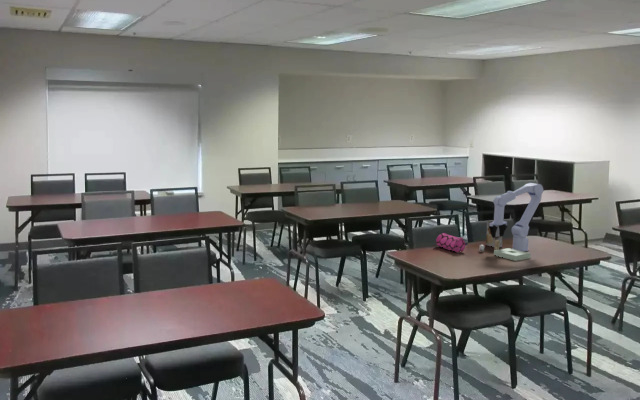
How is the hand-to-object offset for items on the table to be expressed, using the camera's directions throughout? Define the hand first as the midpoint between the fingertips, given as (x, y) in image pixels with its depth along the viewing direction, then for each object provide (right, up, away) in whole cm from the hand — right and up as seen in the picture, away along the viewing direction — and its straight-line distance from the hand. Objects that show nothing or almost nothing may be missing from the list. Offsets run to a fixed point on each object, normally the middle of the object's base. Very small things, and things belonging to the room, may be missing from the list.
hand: (497, 236), depth 355 cm
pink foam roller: (-28, -9, +5) cm, 30 cm away
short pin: (-10, -9, +1) cm, 13 cm away
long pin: (0, -9, +1) cm, 10 cm away
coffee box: (+3, -7, +18) cm, 20 cm away
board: (+5, -11, -12) cm, 17 cm away
